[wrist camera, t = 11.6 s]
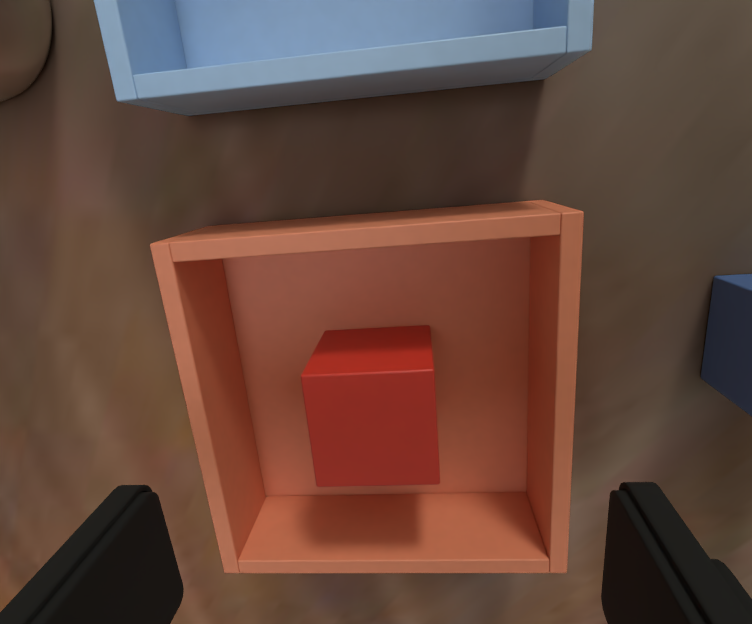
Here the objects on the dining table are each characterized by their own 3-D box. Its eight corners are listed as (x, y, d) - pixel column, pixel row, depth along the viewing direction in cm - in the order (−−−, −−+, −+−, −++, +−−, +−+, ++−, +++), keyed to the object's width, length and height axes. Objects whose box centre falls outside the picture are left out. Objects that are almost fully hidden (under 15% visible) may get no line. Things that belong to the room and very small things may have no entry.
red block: (429, 324, 17) (434, 369, 14) (435, 419, 19) (440, 485, 15) (324, 329, 18) (299, 375, 14) (335, 423, 19) (315, 488, 15)
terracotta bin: (543, 199, 16) (584, 210, 12) (537, 493, 20) (567, 573, 16) (207, 225, 17) (148, 243, 14) (259, 497, 21) (224, 574, 17)
